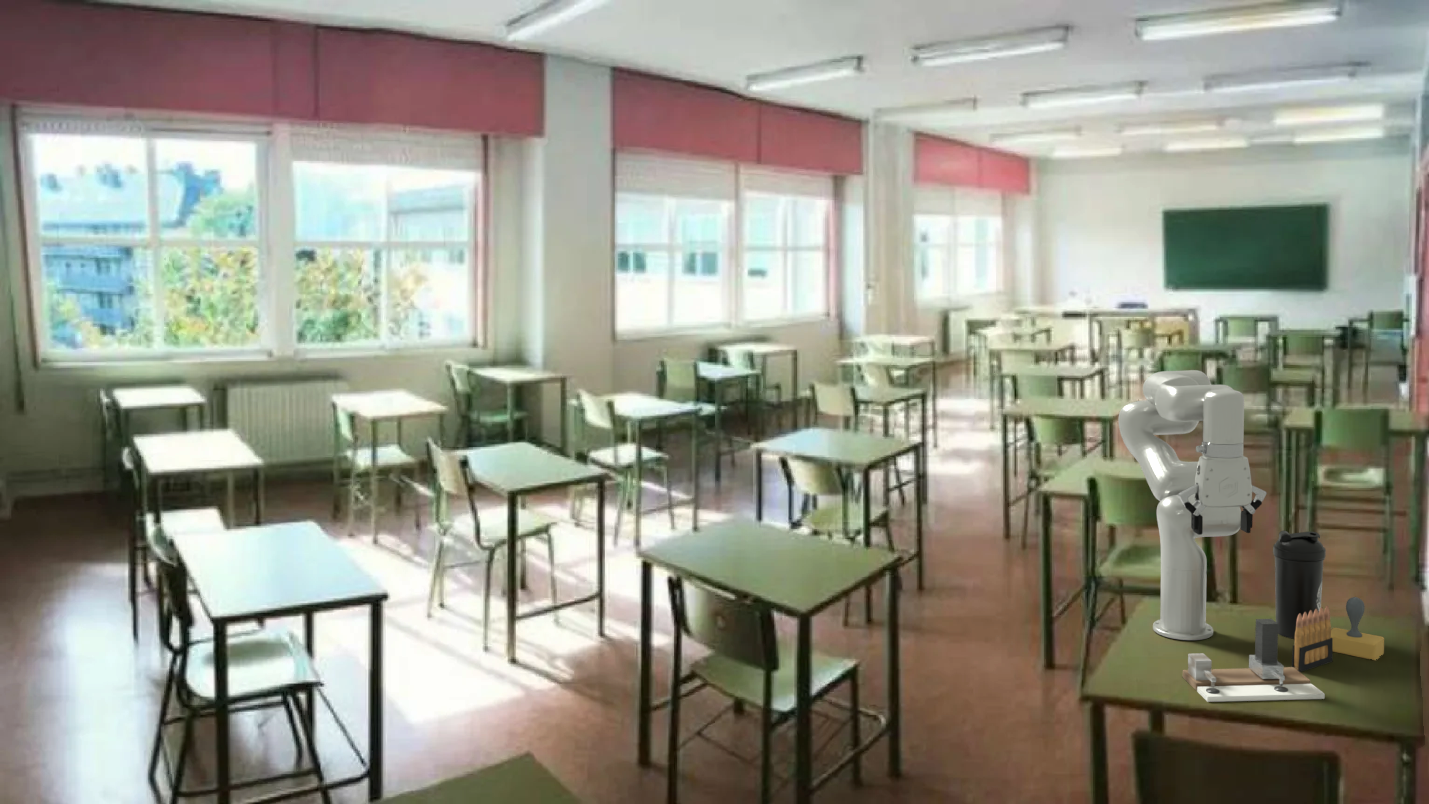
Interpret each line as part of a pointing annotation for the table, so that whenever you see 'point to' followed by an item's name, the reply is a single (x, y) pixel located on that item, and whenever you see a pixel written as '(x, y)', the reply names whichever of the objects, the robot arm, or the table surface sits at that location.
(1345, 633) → the rubber stamp
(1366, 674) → the table surface
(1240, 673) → the divider base
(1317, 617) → the ammunition clip
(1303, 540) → the water bottle
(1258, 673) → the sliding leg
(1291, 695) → the hole plate
